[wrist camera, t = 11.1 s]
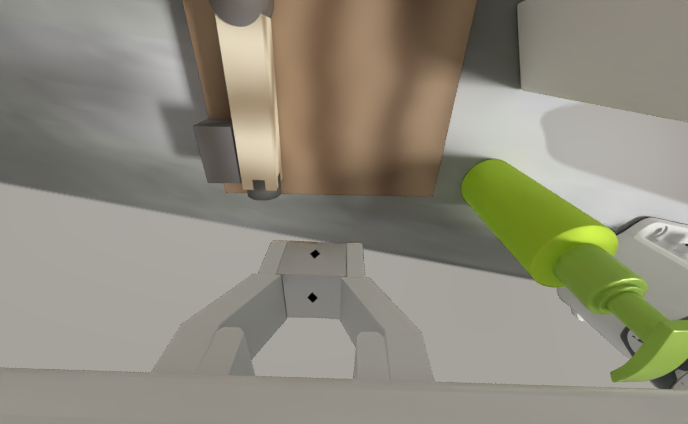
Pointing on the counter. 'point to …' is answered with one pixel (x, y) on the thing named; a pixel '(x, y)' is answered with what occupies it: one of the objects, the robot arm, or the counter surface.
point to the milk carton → (607, 53)
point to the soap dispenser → (574, 261)
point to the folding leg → (251, 91)
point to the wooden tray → (345, 93)
